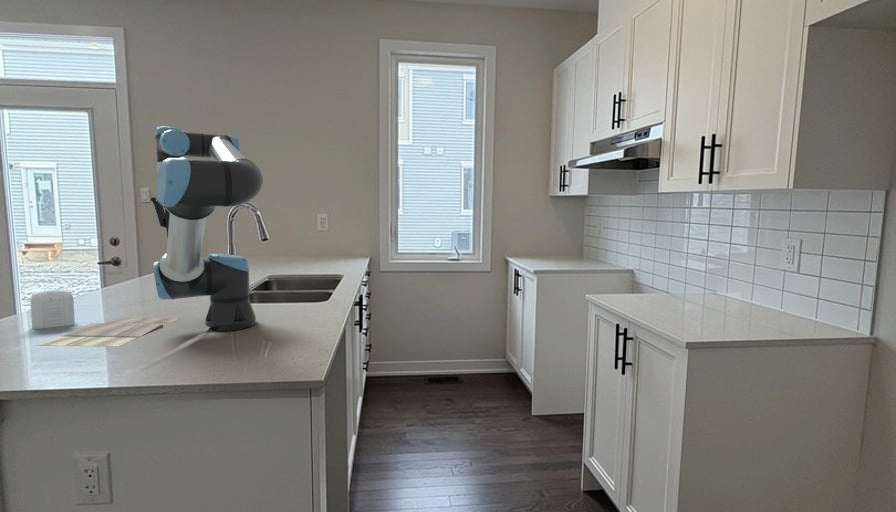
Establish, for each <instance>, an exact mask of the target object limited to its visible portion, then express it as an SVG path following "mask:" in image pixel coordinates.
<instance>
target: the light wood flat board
mask: <svg viewBox="0 0 896 512" xmlns="http://www.w3.org/2000/svg"><path fill="white" fill-rule="evenodd" d="M139 338H140V337H130V336H70V335H65V334H63V335H60V336H57V337H54V338H52V339H49V340H47V341H43V342H40V343H38V344H37V346H45V347H46V346H52V347H53V346H54V347H59V346H60V347H107V348H108V347H110V348H111V347H112V348H113V347H114V348H115V347H121V346H122V345H123V346H124V345H125V344H127V343H130V342H131V341H133V340H135V339H139Z"/></svg>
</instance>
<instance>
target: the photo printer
mask: <svg viewBox="0 0 896 512" xmlns="http://www.w3.org/2000/svg"><path fill="white" fill-rule="evenodd" d="M29 301H30V315H31V328H32V330H36V329H50V328H58V327H67V326H73V325H75V324H76V321H75V305H74V303H75V302H74V297H73V294H72V291H71V290H65V289H45V290H42V291H37V292H34V293H31V297H30V300H29Z"/></svg>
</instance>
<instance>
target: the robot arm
mask: <svg viewBox="0 0 896 512" xmlns="http://www.w3.org/2000/svg"><path fill="white" fill-rule="evenodd" d="M154 135H155V136H154V139H155V149H156V150H155V151H156V168H157V170H156V173H157V182H156V195H155V196H154V197H152V196H151V197H150V201H151V202H152V203H153V204H152V205H153V206H154V209H155V212H156V215H157V218H158V223H159V226H160V227H161V228H162V227H163V228H166V237H167V244H166V245H167V246H166V253H164V255H162V257H161V258H160V260H157V261H154V262H153V265H152V266H153V267H152V268H153V276H154V282H155V288H156V289H155V290H156V293H157V297H158V298H159V299H160V300H176V299H188V298H196V297H197V298H198V297H199V298H200V297H206V296H207V297H208V296H209V302H210V303H209V307H208V310H207V313H206V317H205V320H204V324H205V326H206V327H209V328H208V330H209V331H215V332H226V331H227V332H230V331H238V330H243V328H244V329H248V328H251V327H253V326H255V325H256V324H257V317H256V314H255V311H254V309H253V306H252V303H251V300H250V299H251V298H250V269H249V261H248V259H247V258H246V257H245V256H241V255H238V254H237V255H235V254H229V253H228V254H225V253H209V254H208V256H207V258H202V256H201V254H202V249H203V242H204V236H205V235H204V234H205V230H206V223H207V218H208V217H210V216H211V215H212V214H213V212H214V211H215V208H216V207H218V208H219V207H221V208H223V207H224V208H225V207H237V206H238V207H239V206H242V205H245V204H247V203H248V202H251V201H252V200H253V199H254V198H255V197H257V196H258V194H259V193H260V191H261V190H262V188H263V183H264V178H263V174H262V171H261V169H260V168H259V167H258V165H257V164H256V163H254V162H253V161H252V160H250V159H248V158H246V157H244V156H243V154H242V153H241V152H240V142H239V139H238V138H237V137H236V136H233V135H228V134H216V133H215V134H213V133H212V134H211V133H202V132H191V131H183V130H182V129H181V128H178V127H174V126H157V127H156V128H155V134H154ZM187 157H189V158H187ZM194 158H195V159H194ZM196 158H197V159H196ZM198 158H203V159H198ZM204 158H206V159H204ZM207 158H208V159H207ZM255 323H256V324H255ZM254 324H255V325H254ZM252 325H253V326H252ZM250 326H251V327H250ZM247 327H248V328H247Z"/></svg>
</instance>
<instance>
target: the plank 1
mask: <svg viewBox="0 0 896 512" xmlns="http://www.w3.org/2000/svg"><path fill="white" fill-rule="evenodd" d="M163 327H164V323H107V322H90V323H87V324H86V325H85V326H82V327H79V328H76V329H75V330H73V331H70V332H68V333H65V334H64V335H66V336H126V337H139V338H141V337H142V336H145V335H147V334H149V333H152V332H154V331H156V330H158V329H160V328H163Z"/></svg>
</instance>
